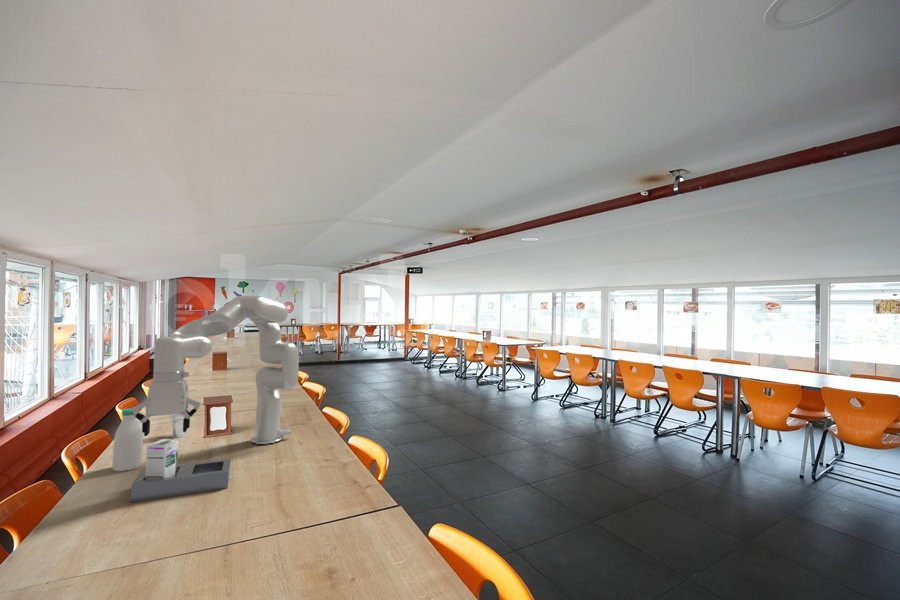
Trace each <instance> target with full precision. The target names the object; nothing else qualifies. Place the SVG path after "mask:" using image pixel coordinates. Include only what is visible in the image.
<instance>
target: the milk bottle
mask: <svg viewBox="0 0 900 600" xmlns="http://www.w3.org/2000/svg"><path fill="white" fill-rule="evenodd" d="M132 408H133V407H129V408H124V409H122V411H121V418H122V419H121V422H120V424H119V426H118V427H117V429H116V431H115V433H114V434H115V435H114V440H113V450H112V451H113V452H112V454H113V455H112V467H111V469H112V471H114V472H127V470H128V471H132V470H136V469H137V468H139V467H141V465H142V458H143V444H144V443H143V441H144V433H142V423H141V421H140V420H139V419H137V418H136V417H135V415H134V414H133V412H132V410H131V409H132Z"/></svg>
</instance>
